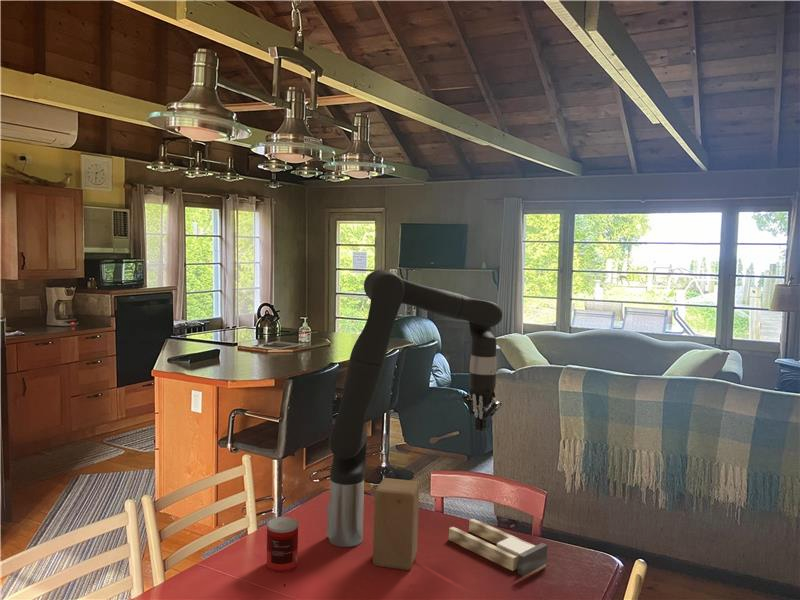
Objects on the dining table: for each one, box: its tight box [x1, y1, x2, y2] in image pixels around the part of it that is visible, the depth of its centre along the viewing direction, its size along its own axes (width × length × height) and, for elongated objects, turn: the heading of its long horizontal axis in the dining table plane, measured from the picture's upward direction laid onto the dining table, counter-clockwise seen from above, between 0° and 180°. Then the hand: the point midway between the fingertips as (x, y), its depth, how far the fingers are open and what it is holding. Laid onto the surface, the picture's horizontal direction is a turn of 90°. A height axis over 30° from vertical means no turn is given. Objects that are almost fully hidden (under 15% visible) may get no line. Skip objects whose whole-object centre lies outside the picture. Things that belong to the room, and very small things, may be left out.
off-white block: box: [496, 537, 534, 569], centre depth 164 cm, size 8×6×4 cm
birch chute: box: [448, 518, 548, 579], centre depth 170 cm, size 26×10×6 cm, turn 43°
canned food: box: [266, 516, 299, 574], centre depth 160 cm, size 8×8×11 cm
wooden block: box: [372, 477, 420, 571], centre depth 164 cm, size 10×10×20 cm
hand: (480, 430), depth 182 cm, fingers closed
